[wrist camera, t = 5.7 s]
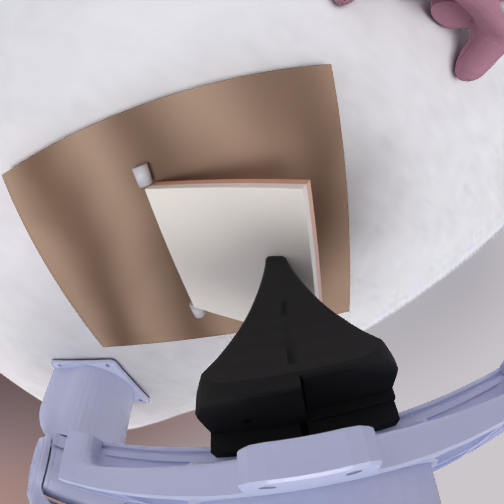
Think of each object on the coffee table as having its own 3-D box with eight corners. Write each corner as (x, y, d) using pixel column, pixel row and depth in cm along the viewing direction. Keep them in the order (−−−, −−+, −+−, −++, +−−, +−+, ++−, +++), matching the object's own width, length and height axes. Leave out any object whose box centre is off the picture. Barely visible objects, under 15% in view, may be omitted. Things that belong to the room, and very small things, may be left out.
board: (106, 336, 23) (103, 347, 22) (12, 168, 14) (1, 175, 13) (345, 299, 21) (349, 311, 20) (324, 64, 12) (331, 63, 11)
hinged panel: (319, 353, 15) (324, 341, 15) (297, 157, 9) (305, 150, 9) (191, 316, 19) (198, 308, 19) (129, 170, 13) (140, 163, 14)
